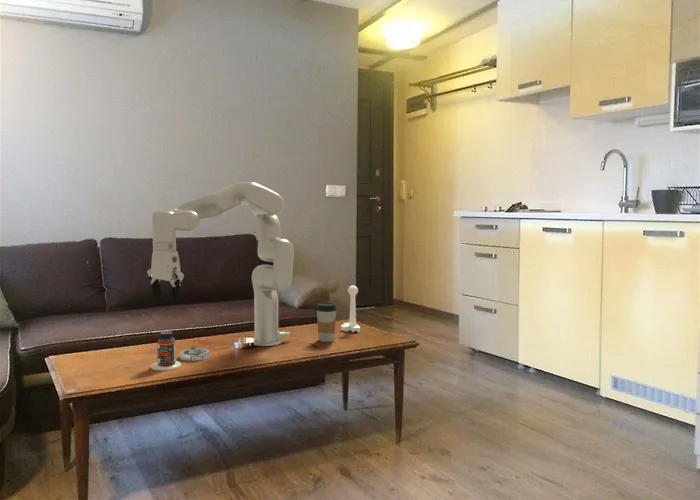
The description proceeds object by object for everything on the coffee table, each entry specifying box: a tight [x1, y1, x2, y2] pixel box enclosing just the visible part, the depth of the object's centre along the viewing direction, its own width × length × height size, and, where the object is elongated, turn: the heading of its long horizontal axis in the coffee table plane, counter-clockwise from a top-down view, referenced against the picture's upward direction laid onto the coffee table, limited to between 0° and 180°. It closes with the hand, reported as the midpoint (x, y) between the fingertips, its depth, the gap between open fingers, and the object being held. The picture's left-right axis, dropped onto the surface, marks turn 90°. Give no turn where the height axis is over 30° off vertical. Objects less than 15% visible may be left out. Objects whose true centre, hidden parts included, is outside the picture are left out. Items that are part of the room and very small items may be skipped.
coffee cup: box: [316, 302, 337, 343], centre depth 240 cm, size 8×8×15 cm
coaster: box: [150, 360, 182, 372], centre depth 202 cm, size 10×10×1 cm
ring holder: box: [179, 346, 211, 362], centre depth 214 cm, size 10×10×3 cm
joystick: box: [340, 285, 361, 333], centre depth 258 cm, size 11×8×20 cm
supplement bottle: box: [156, 330, 177, 366], centre depth 201 cm, size 6×6×11 cm
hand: (165, 296), depth 201 cm, fingers open, 9 cm apart
